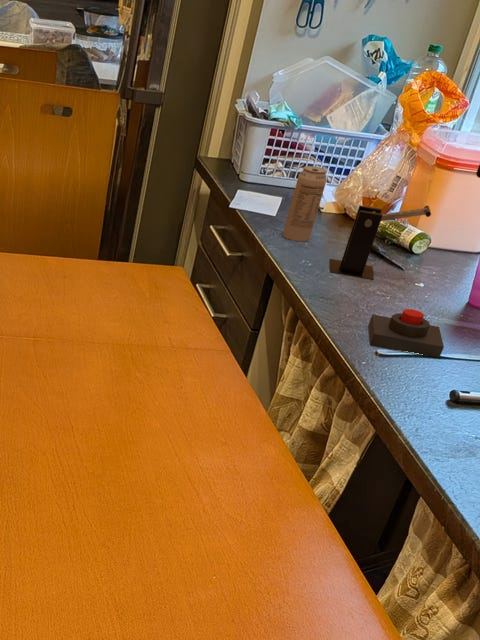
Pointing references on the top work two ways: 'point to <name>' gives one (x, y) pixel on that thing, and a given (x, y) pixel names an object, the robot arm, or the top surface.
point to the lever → (406, 214)
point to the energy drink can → (305, 203)
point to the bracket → (359, 245)
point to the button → (412, 317)
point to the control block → (405, 335)
